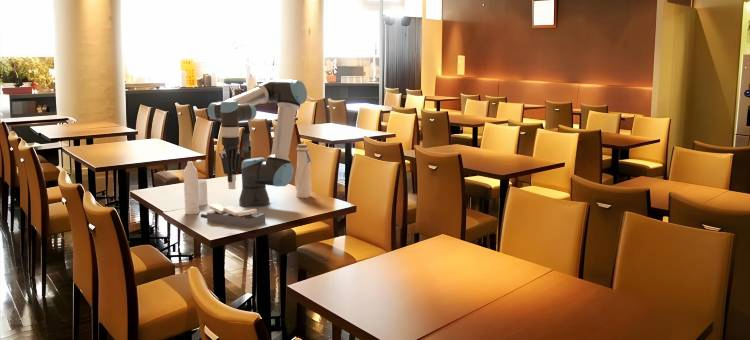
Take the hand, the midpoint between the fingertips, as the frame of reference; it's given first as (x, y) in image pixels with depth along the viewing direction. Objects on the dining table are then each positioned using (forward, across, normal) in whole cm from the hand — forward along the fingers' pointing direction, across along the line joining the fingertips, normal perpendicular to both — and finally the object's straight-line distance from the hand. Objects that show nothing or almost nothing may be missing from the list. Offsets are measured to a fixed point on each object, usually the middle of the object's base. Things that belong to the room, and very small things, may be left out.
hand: (232, 188), depth 272 cm
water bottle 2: (+15, -59, 0) cm, 61 cm away
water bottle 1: (+16, -6, -28) cm, 33 cm away
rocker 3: (+10, 0, +8) cm, 13 cm away
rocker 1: (+10, 0, -8) cm, 13 cm away
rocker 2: (+10, 0, 0) cm, 10 cm away
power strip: (+16, -2, -4) cm, 16 cm away
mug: (+16, -18, -38) cm, 45 cm away
